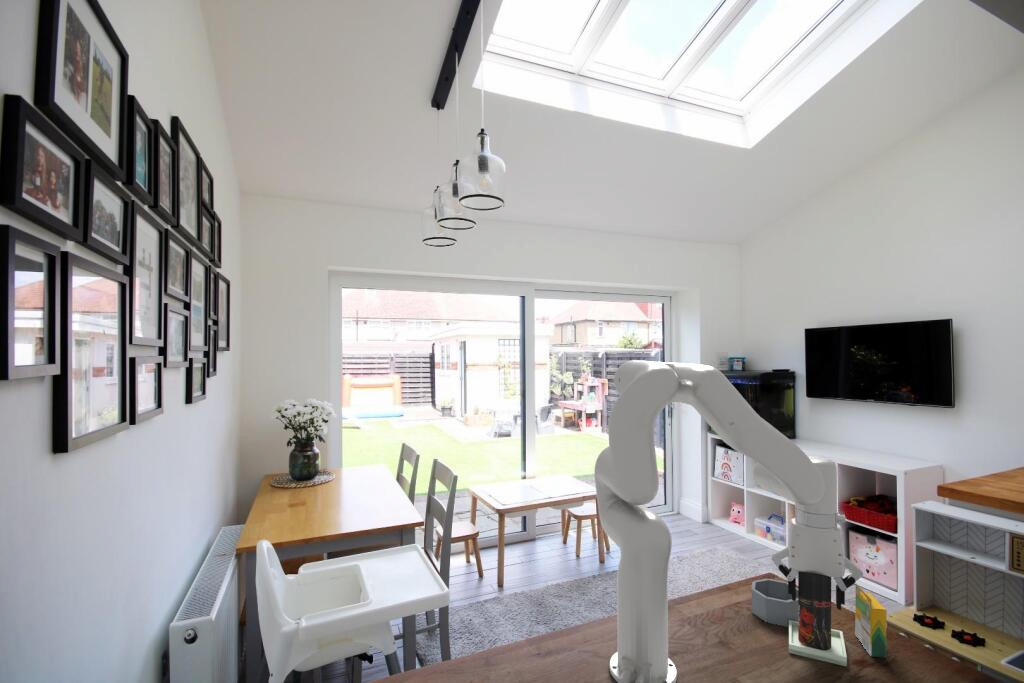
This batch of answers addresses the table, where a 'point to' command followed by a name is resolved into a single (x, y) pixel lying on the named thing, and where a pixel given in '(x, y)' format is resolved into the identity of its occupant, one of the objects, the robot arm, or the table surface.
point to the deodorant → (814, 610)
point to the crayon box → (870, 623)
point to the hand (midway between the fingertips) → (815, 601)
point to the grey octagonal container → (774, 602)
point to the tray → (832, 655)
